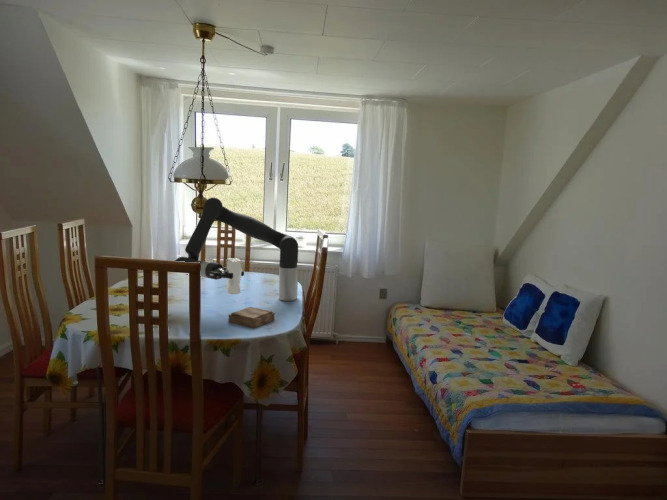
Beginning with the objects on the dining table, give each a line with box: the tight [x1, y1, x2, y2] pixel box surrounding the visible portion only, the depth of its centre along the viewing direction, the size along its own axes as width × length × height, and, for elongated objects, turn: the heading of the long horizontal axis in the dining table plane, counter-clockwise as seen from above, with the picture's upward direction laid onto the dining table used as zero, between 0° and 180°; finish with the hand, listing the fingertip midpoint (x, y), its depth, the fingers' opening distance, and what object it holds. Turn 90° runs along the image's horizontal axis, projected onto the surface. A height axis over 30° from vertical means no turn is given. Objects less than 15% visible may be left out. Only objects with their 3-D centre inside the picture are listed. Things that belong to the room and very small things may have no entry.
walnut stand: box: [228, 306, 275, 329], centre depth 195 cm, size 14×14×4 cm
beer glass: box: [225, 257, 243, 295], centre depth 198 cm, size 7×7×15 cm
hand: (237, 275), depth 197 cm, fingers closed on beer glass, 6 cm apart
